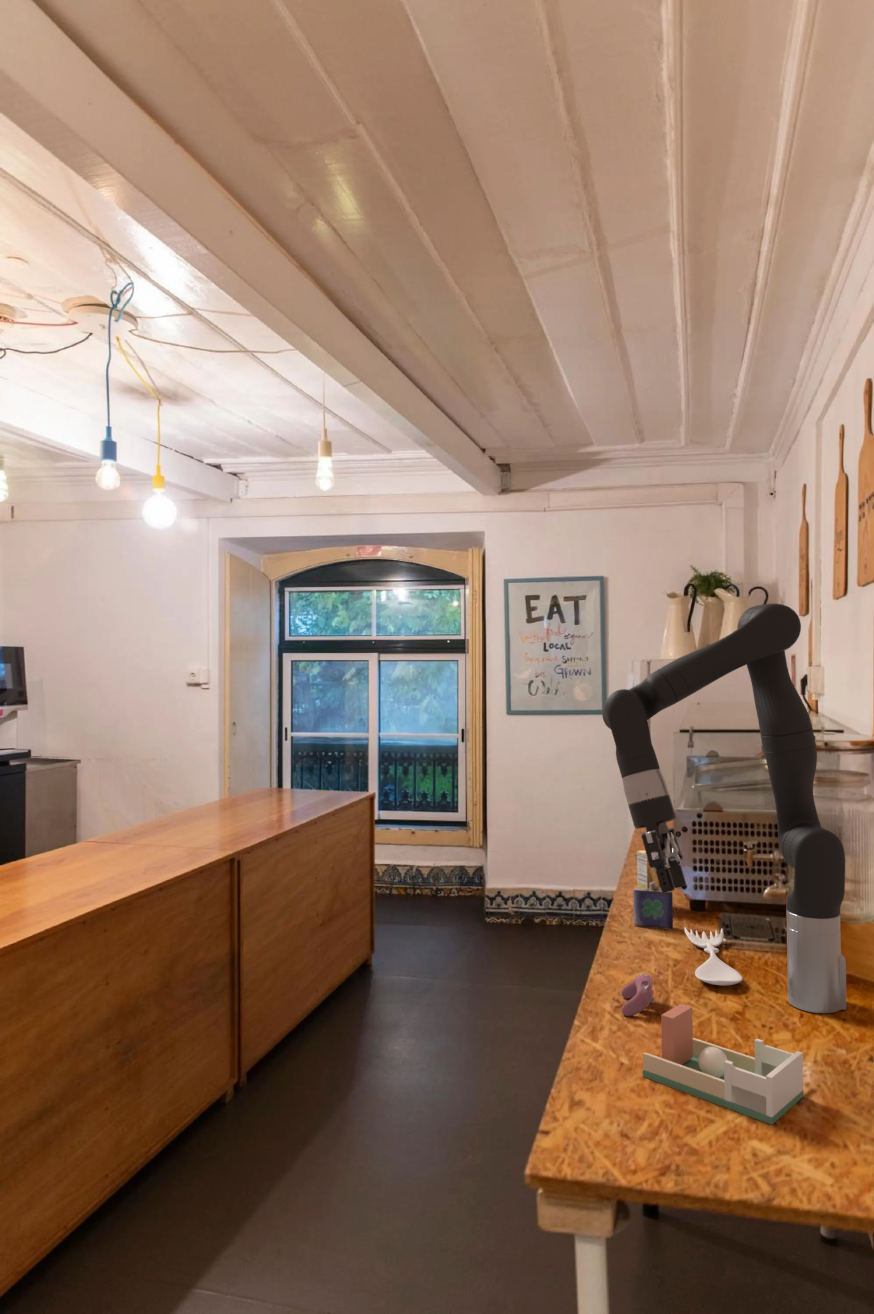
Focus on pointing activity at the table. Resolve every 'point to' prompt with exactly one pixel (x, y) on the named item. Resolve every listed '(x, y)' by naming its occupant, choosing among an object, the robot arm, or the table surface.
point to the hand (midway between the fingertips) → (674, 889)
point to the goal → (766, 1078)
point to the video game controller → (637, 995)
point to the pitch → (710, 1080)
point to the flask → (653, 907)
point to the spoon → (713, 961)
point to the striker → (677, 1034)
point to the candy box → (645, 872)
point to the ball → (712, 1061)
